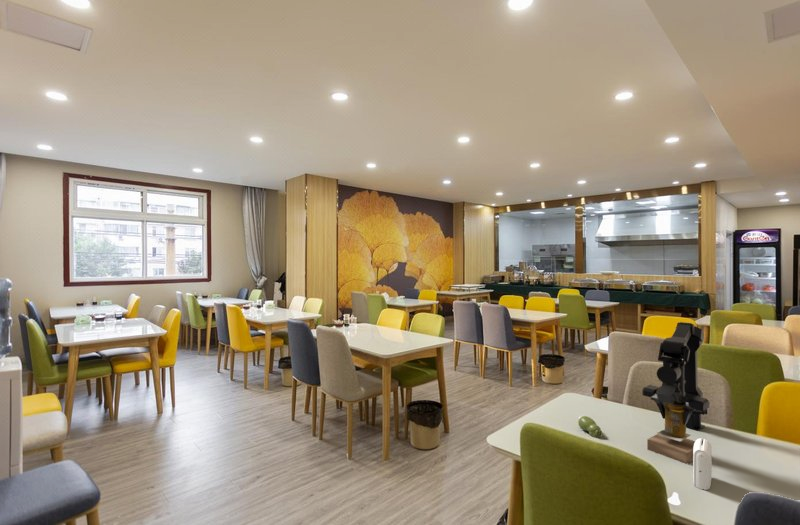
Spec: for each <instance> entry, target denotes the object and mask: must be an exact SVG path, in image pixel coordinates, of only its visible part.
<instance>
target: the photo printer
mask: <svg viewBox="0 0 800 525" xmlns="http://www.w3.org/2000/svg"><path fill="white" fill-rule="evenodd" d="M694 441H695V443H694V447H693V460H692V461H693V462H692V470H693V471H692V480H693V486H695V487H696V488H697V487H698V488H697V489H699V490H700V489H701V490H703V489H704V491H707V490H710V488H711V486H712V485H711V483H712V475H713V474H712V472H713V470H712V468H713V466H712V465H713V464H712V461H713V460H712V458H713V457H712V455H713V454H712V444H711V443H710V441H709V440H707V439H705V438H700V437H699V438H697V439H696V440H694Z"/></svg>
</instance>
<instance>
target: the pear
mask: <svg viewBox="0 0 800 525" xmlns="http://www.w3.org/2000/svg"><path fill="white" fill-rule="evenodd" d="M577 421H578V422H577V423H578V426H579V428H580V429H581V430H583V431H585V430H586V431H587V432H588V433H589V435H590V436H591V437H593V438H599V437H602V435H603V431H602V430H601V429H602V428H601V427H600V426H599V425H598V424H597V423H596V422H595V420H594V419H592V418H591V417H590V416H586V415H583V416H580V417H579V419H578V420H577Z"/></svg>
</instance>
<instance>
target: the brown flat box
mask: <svg viewBox="0 0 800 525" xmlns="http://www.w3.org/2000/svg"><path fill="white" fill-rule="evenodd" d="M695 441H696V440H692V439H690V438H688V437H687V438H685V439H683V440H682V441H677V440H674V439H670V438H668V437H665V436H662V435H660V434H657V433H656V434H655V435H653V436H651V437H649V438H647V442H646V443H647V447H646V448H647V450H648V451H650V452H653V453H655V454H659V455H661V456H664V457H667V458H669V459H672V460H675V461H678V462H680V463H684V464H685V465H688V464H689V463H690V462H692V461H693V447H694V443H695Z"/></svg>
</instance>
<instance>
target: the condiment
mask: <svg viewBox="0 0 800 525" xmlns="http://www.w3.org/2000/svg"><path fill="white" fill-rule="evenodd" d="M684 404H685V403H684V402H681V401H680V402H679V401H674V403H673V404H668V403H666V406H665V419H664V429H662V430H660V431H658V432H656V434H660V435H662V436H665V437H668V438H670V439H674V440H677V441H682V440H683V439H685V438H687V439H688V438H689V437H690V436H691V434H689V433H686V432H687V427H686V425H684V424H683V418H684V409H683V407H684Z"/></svg>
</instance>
